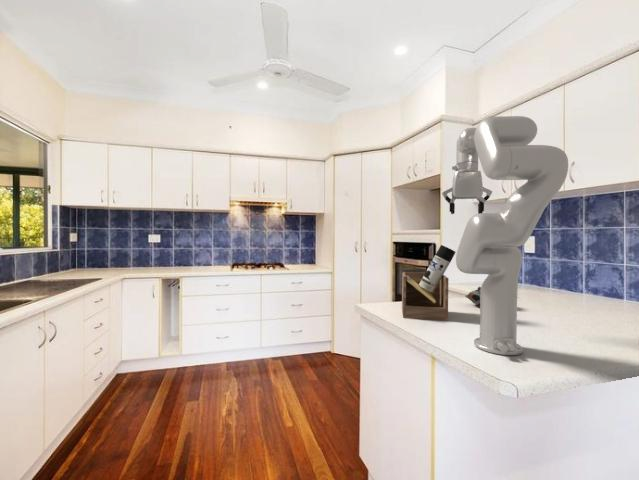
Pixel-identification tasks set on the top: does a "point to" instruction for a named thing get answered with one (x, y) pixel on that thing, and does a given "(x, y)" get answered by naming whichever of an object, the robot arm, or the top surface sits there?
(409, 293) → the stand
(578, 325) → the top surface
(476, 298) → the lucky cat figurine
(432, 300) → the trapdoor
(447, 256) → the spray can
